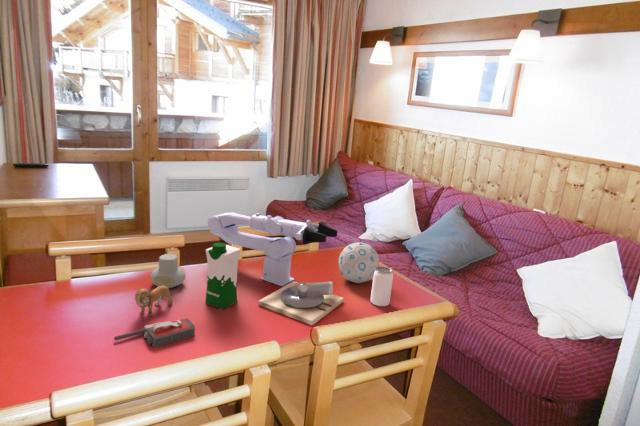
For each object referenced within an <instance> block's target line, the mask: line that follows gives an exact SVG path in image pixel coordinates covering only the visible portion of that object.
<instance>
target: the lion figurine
mask: <svg viewBox="0 0 640 426" xmlns="http://www.w3.org/2000/svg"><path fill="white" fill-rule="evenodd" d="M162 297H163V298H164V299H166V300H167V301H168V304H167V305H168V306H172V305H173V297H172V296H171V293H170V288H168V287H167V286H156V288H154V289H152V290H151V289H148V288H140V289H138V290H136V292H135V293H134V300H135V302H136V305H137V306H138V307H139V308H140V310H141V311H139V314H140V315H144V314H145V311H146V310H145V309H146V308H148V310H147V311H148V313H147V316H148V317H150V316H151V317H152V316H153V304H154V306H155V307H156V306H157V307H158V306H160V304H161V302H162V300H163V299H162Z"/></svg>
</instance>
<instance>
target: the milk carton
mask: <svg viewBox="0 0 640 426" xmlns="http://www.w3.org/2000/svg"><path fill="white" fill-rule="evenodd" d="M241 251H242V249H241V248H239V247H237V246H232V245H230V244H226V243H225V242H221V241H219V242H214V243H212V246H211V247H208V248H206V249H205V254H206V255H205V256H206V261H207V269H206V270H207V272H206V275H207V277H206V291H205V292H206V293H205V304H207V305H211V306H212V307H215V308H218V309H220V310H224V309H226V308H228V307H229V306H232V305H233V304H235V303H237V302H238V291H237V290H238V289H237V288H238V287H237V281H238V266H239V265H238V264H239V259H240V255H241Z"/></svg>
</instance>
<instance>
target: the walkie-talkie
mask: <svg viewBox="0 0 640 426" xmlns="http://www.w3.org/2000/svg"><path fill="white" fill-rule="evenodd" d="M195 327H196V326H195V325H194V323H193V322H192V321H191V320H190V319H189V318H181V319H177V320H174V321H169V320H167V321H164V322H156V323H152V324H148V325H147V324H146V325H144V326H143V328H142V329H138V330H134V331H131V332H126V333H123V334H120V335H116V336H114V337H113V339H114V341H118V340H122V339H126V338H131V337H135V336H138V335H143V338H146V340H147V341H146V342H147V345H149V346H151V345H152V347H153V348H156V347H162V346H164V345H167V344H168V345H169V344H171V343H172V344H173V343H174V342H178V341H182V340H186V339H190V338H193V337H194V336H195V333H196V332H195V329H196V328H195Z"/></svg>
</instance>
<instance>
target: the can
mask: <svg viewBox="0 0 640 426" xmlns="http://www.w3.org/2000/svg"><path fill="white" fill-rule="evenodd" d="M393 279H394V273H393V269H391V268H390V267H386V266H379V267H377V268H376V270H375V272H374V276H373V278H372V285H371V292H370V293H371V294H370V302H371V304H372V305H373V306H376V307H380V308H383V307H387V306H388V305H390V300H391V295H392V286H393V281H394V280H393Z"/></svg>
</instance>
